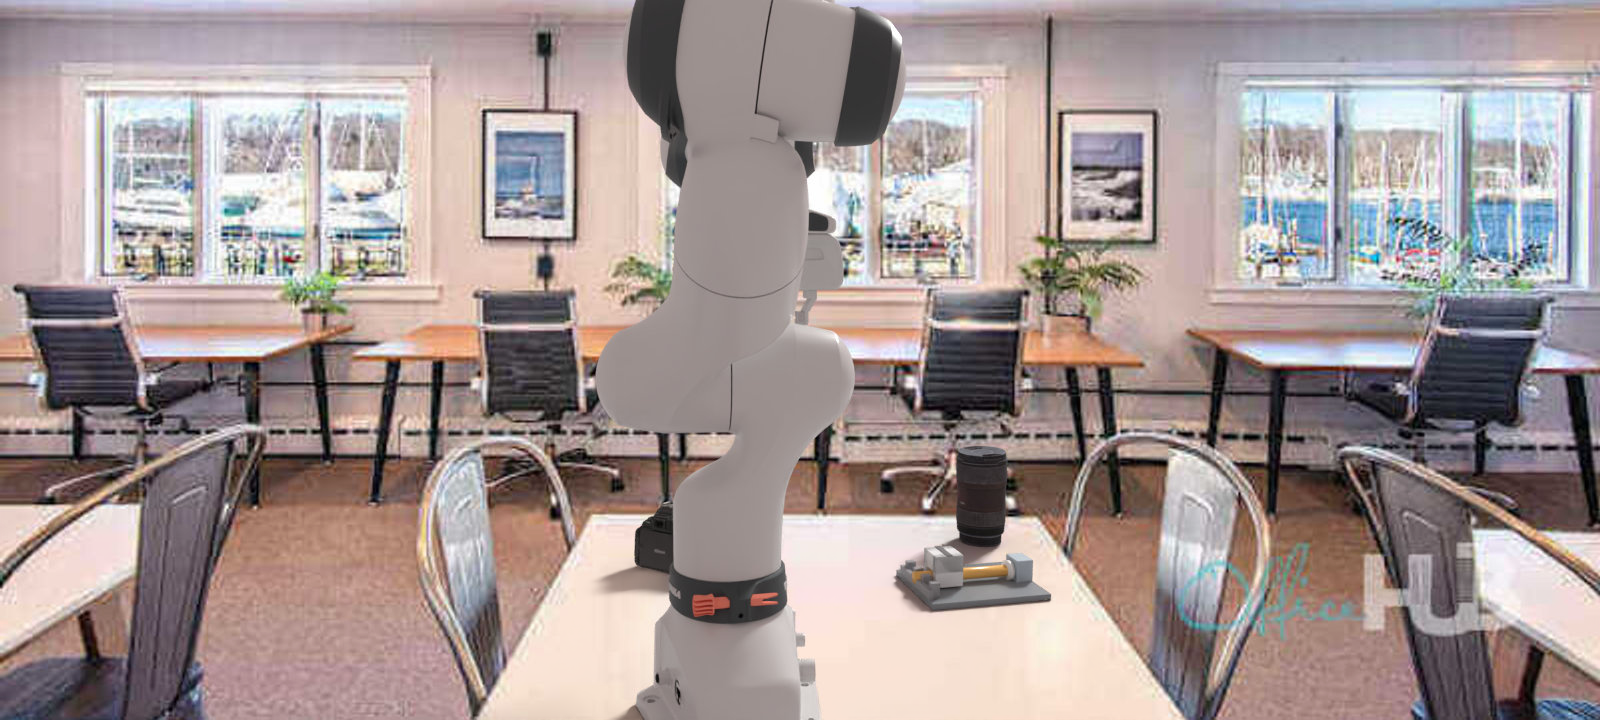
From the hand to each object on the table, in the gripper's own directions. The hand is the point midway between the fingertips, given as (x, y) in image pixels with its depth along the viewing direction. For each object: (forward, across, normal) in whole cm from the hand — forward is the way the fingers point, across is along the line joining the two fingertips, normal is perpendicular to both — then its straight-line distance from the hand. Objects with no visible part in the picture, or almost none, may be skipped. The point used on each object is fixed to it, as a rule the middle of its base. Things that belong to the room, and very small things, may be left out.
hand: (766, 325), depth 124 cm
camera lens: (+37, +39, +16) cm, 56 cm away
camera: (+37, -10, +14) cm, 41 cm away
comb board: (+37, +28, -4) cm, 47 cm away
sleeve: (+36, +24, -4) cm, 43 cm away
